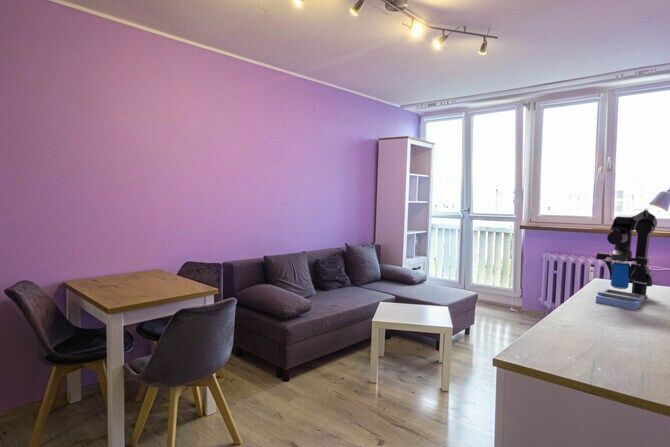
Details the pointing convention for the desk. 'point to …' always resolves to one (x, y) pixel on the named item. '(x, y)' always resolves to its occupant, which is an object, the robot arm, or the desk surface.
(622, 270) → the beverage can
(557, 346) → the desk surface
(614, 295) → the slot holder
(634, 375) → the desk surface
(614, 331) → the desk surface
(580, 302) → the desk surface
